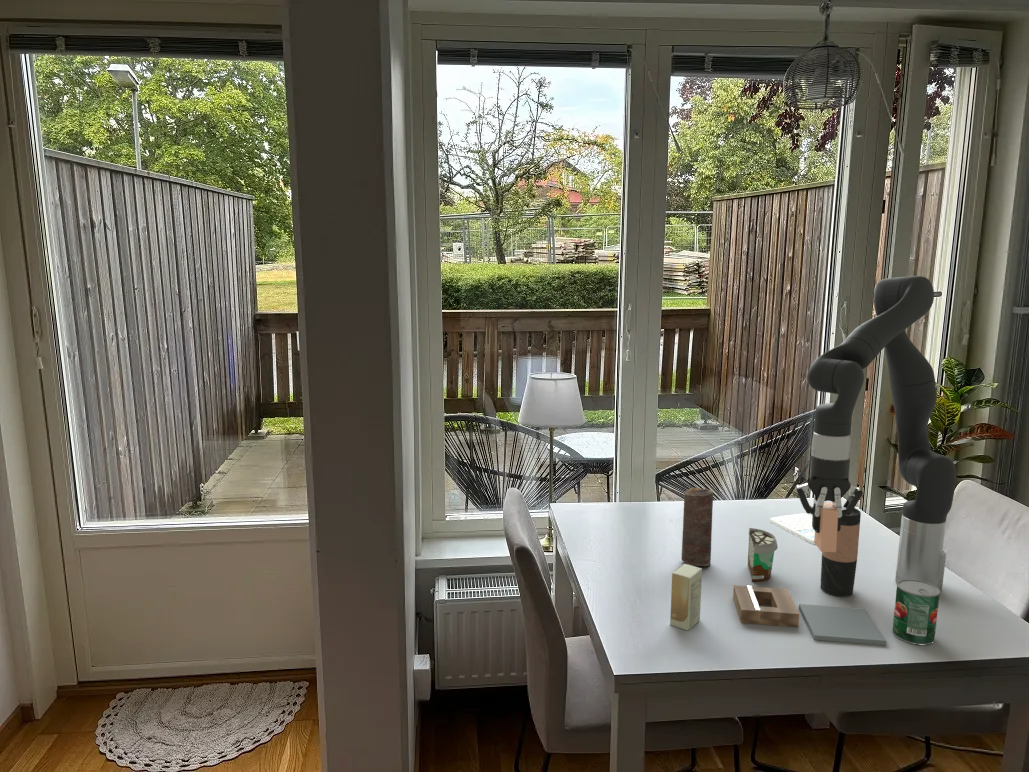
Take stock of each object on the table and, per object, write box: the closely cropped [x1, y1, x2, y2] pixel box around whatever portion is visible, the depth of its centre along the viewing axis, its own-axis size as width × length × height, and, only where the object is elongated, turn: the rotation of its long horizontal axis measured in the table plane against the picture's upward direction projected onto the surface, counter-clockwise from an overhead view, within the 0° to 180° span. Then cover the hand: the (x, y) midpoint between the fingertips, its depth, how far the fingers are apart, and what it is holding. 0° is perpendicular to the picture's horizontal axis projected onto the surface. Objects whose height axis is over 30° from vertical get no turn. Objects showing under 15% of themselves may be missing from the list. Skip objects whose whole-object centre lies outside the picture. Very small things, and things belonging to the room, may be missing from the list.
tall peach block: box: [814, 501, 838, 553], centre depth 155 cm, size 3×6×9 cm, turn 170°
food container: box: [747, 527, 778, 583], centre depth 181 cm, size 12×6×10 cm, turn 168°
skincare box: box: [669, 563, 703, 631], centre depth 156 cm, size 6×4×12 cm
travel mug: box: [820, 506, 862, 598], centre depth 172 cm, size 8×8×20 cm
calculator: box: [769, 512, 817, 546], centre depth 212 cm, size 13×20×2 cm, turn 18°
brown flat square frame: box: [732, 584, 800, 628], centre depth 162 cm, size 12×12×3 cm
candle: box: [681, 487, 714, 567], centre depth 186 cm, size 8×7×20 cm
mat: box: [798, 603, 887, 646], centre depth 156 cm, size 14×14×1 cm
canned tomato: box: [891, 579, 941, 645], centre depth 151 cm, size 8×8×11 cm
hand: (825, 531), depth 155 cm, fingers closed on tall peach block, 2 cm apart
